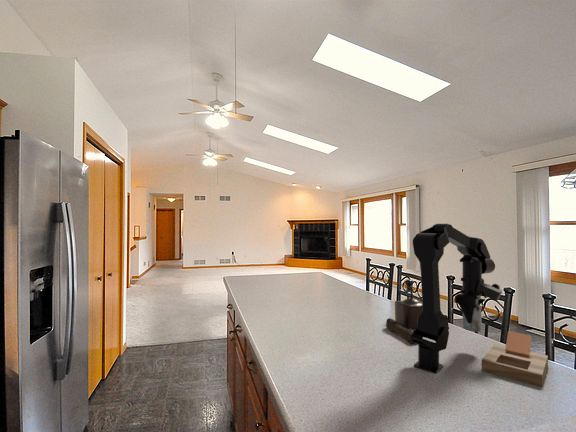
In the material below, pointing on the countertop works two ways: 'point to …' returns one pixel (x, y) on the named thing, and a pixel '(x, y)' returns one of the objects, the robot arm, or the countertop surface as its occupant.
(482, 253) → the robot arm
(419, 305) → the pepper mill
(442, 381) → the countertop surface
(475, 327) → the peg
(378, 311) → the countertop surface
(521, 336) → the pink flat plate
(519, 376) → the hole plate
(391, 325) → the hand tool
